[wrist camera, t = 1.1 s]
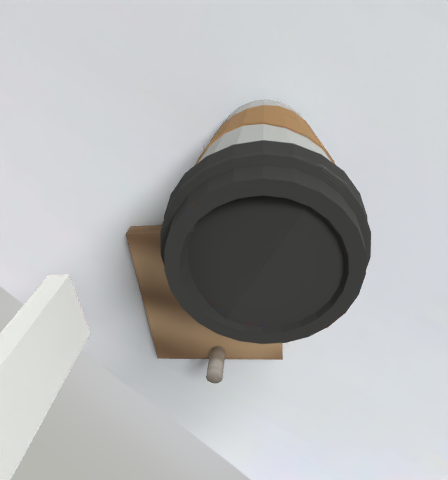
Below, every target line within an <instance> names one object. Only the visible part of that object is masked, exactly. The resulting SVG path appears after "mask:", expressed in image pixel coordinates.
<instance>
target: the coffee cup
mask: <svg viewBox="0 0 448 480" xmlns="http://www.w3.org/2000/svg"><path fill="white" fill-rule="evenodd" d="M160 241H161V258H162V261H163V264H164V271H165V274H166V277H167V281H168V284H169V287H170V290H171V292H172V294H173V295H174V297H175V298H176V300H177V301H178V303H179V304H180V306H181V307H182V309H183V310H185V311H186V312H187V313H188V314H189V315H190V316H191V317H192V318H193V319H194V320H196V321H197V322H198V323H199V324H201V325H203V326H204V327H206V328H208V329H210V330H211V331H213V332H215V333H217V334H219V335H222V336H225V337H228V338H231V339H234V340H237V341H242V342H250V343H257V344H272V343H286V342H290V341H294V340H298V339H302V338H306V337H309V336H311V335H313V334H315V333H317V332H319V331H321V330H323V329H325V328H327V327H329V326H330V325H331V324H332V323H334V322H335V321H336V320H337V319H338V318H340V317H341V316H342V315H343V314H345V313H346V311H347V310H348V309H349V307H350V306H351V304H352V303H353V302H354V300H355V299H356V298H357V296H358V295H359V292H360V289H361V286H362V283H363V280H364V278H365V275H366V268H367V265H368V262H369V260H370V253H371V232H370V228H369V225H368V222H367V214H366V211H365V208H364V205H363V202H362V199H361V196H360V193H359V191H358V190H357V189H356V187H355V186H354V184H353V183H352V182H351V180H350V179H349V178H348V176H347V175H346V173H345V172H344V171H343V170H342V169H340V168H339V167H338V166H336V165H335V163H334V161H333V159H332V158H331V156H330V155H329V153H328V152H327V151H326V149H325V148H324V146H323V145H322V143H321V142H320V141H319V139H318V138H317V136H316V135H315V133H314V132H313V131H312V129H311V128H310V126H309V125H308V124H307V122H306V121H305V120H304V119H303V118H302V117H301V116H300V114H299V113H297V112H296V111H295V110H293V109H292V108H291V107H289V106H287V105H285V104H283V103H280V102H278V101H271V100H259V101H253V102H250V103H248V104H245V105H243V106H241V107H239V108H238V109H237V110H235V111H234V112H233V113H232V114H231V115H230V116H229V117H228V118H227V120H226V121H225V123H224V124H222V125H221V127H220V128H219V130H218V131H217V133H216V134H215V136H214V137H213V138H212V140H211V141H210V143H209V144H208V146H207V147H206V149H205V150H204V152H203V153H202V155H201V156H200V157H199V159H198V160H197V163H196V165H195V166H194V167H193V168H191V169H190V170H189V171H188V172H186V173H185V175H184V176H183V177H182V179H181V180H180V182H179V183H178V185H177V186H176V188H175V189H174V191H173V192H172V193H171V196H170V199H169V202H168V205H167V209H166V212H165V215H164V222H163V225H162V228H161V232H160Z"/></svg>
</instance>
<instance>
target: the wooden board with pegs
mask: <svg viewBox="0 0 448 480" xmlns="http://www.w3.org/2000/svg"><path fill="white" fill-rule="evenodd" d="M161 228H162V226H134V227H130V228H129V230H128V232H127V233H126V236H127V240H128V244H129V248H130V252H131V256H132V259H133V263H134V267H135V271H136V275H137V279H138V283H139V287H140V291H141V295H142V299H143V302H144V306H145V310H146V314H147V318H148V322H149V326H150V330H151V334H152V338H153V341H154V345H155V349H156V353H157V357H158V358H169V359H209V363H208V369H207V375H206V378H207V380H208V381H209V382H211V383H219V382H221V381H222V376H223V368H224V359H283V357H282V343H272V344H257V343H250V342H242V341H237V340H234V339H231V338H228V337H225V336H222V335H219V334H217V333H215V332H213V331H211V330H210V329H208V328H206V327H204V326H203V325H201V324H199V323H198V322H197V321H196V320H194V319H193V318H192V317H191V316H190V315H189V314H188V313H187V312H186V311H185V310H183V309H182V307H181V306H180V304H179V303H178V301H177V300H176V298H175V297H174V295H173V294H172V292H171V290H170V287H169V284H168V281H167V277H166V274H165V271H164V264H163V261H162V258H161V241H160V232H161Z"/></svg>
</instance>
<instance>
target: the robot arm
mask: <svg viewBox="0 0 448 480" xmlns="http://www.w3.org/2000/svg"><path fill="white" fill-rule="evenodd" d="M90 334H91V333H90V330H89V327H88V325H87V322H86V319H85V316H84V313H83V311H82V308H81V305H80V302H79V299H78V297H77V294H76V291H75V288H74V285H73V283H72V280H71V277H70V274H63V275H48V276H47V278H46V279H45V280H44V281H43V282H42V284H41V285H40V286H39V287H38V288H37V290H36V291H35V292H34V293H33V294H32V296H31V297H30V298H29V299H28V300H27V302H26V303H25V304H24V305H23V306H22V308H21V309H20V310H19V311H18V313H17V314H16V315H15V316H14V317H13V319H12V320H11V321H10V322H9V323H8V325H7V326H6V327H5V328H4V329H3V331H2V332H1V333H0V480H11V478H12V477H13V475H14V473H15V471H16V469H17V467H18V466H19V464H20V462H21V460H22V458H23V456H24V455H25V453H26V451H27V449H28V447H29V445H30V443H31V442H32V440H33V438H34V436H35V435H36V433H37V431H38V429H39V427H40V425H41V424H42V422H43V420H44V418H45V416H46V414H47V412H48V410H49V409H50V407H51V405H52V403H53V402H54V400H55V398H56V396H57V394H58V392H59V391H60V389H61V387H62V385H63V383H64V381H65V379H66V378H67V376H68V374H69V372H70V370H71V369H72V367H73V365H74V363H75V361H76V360H77V358H78V356H79V354H80V352H81V350H82V349H83V347H84V345H85V343H86V341H87V339H88V338H89V336H90Z"/></svg>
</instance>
